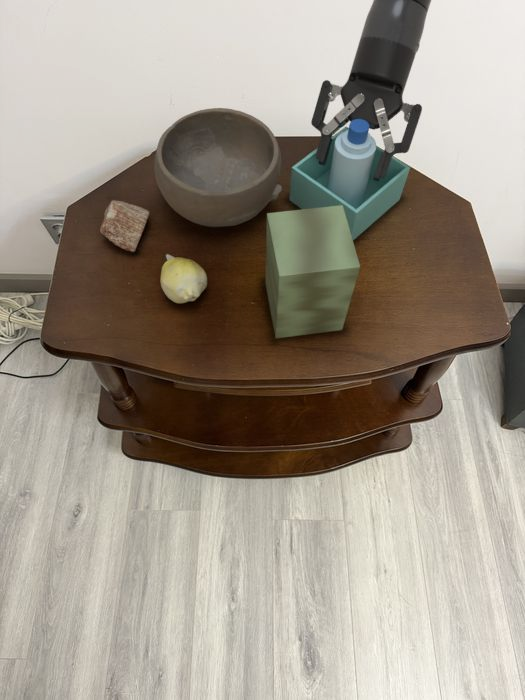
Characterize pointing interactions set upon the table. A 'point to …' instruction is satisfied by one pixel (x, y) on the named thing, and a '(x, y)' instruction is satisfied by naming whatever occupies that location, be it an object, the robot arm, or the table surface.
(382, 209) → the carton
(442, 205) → the table surface
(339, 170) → the bottle
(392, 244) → the table surface
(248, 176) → the bowl
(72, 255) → the table surface
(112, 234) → the stone
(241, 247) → the table surface
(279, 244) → the stand
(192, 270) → the fruit
